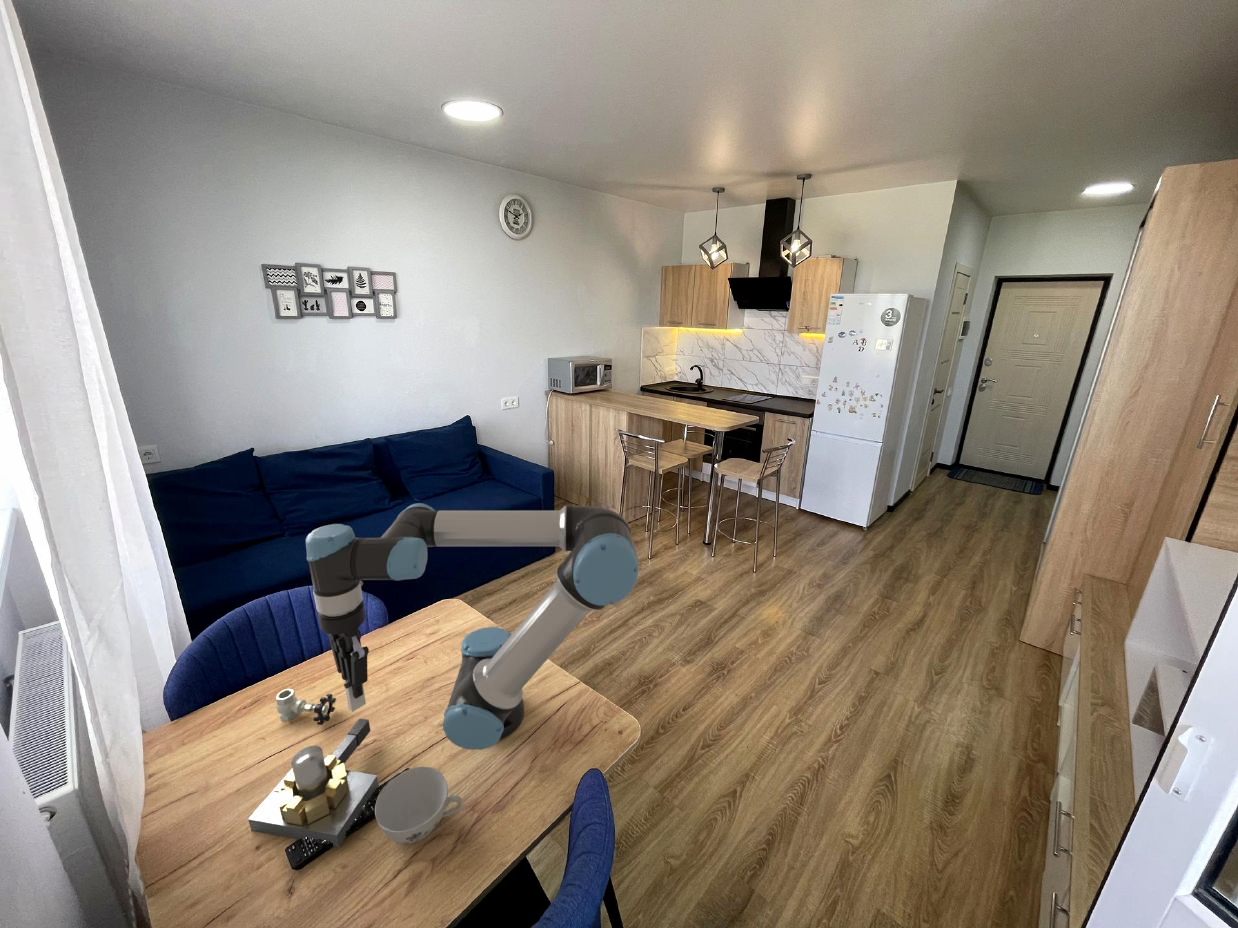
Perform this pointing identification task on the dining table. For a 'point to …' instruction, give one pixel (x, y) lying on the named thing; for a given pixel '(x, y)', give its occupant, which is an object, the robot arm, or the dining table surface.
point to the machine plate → (322, 824)
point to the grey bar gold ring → (336, 788)
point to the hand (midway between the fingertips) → (357, 705)
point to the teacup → (413, 804)
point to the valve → (303, 706)
